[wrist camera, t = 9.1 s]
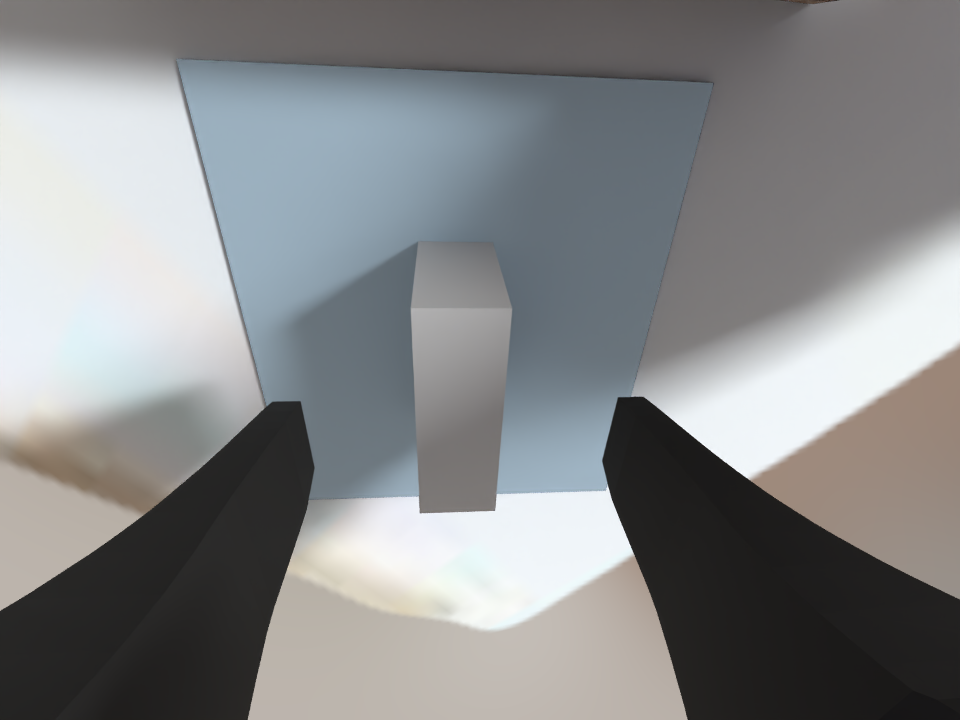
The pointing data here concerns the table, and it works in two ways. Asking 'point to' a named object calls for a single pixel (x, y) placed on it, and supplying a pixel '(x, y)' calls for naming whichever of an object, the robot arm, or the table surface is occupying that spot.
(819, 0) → the walnut box
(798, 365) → the table surface
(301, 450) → the robot arm
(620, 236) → the cover plate
